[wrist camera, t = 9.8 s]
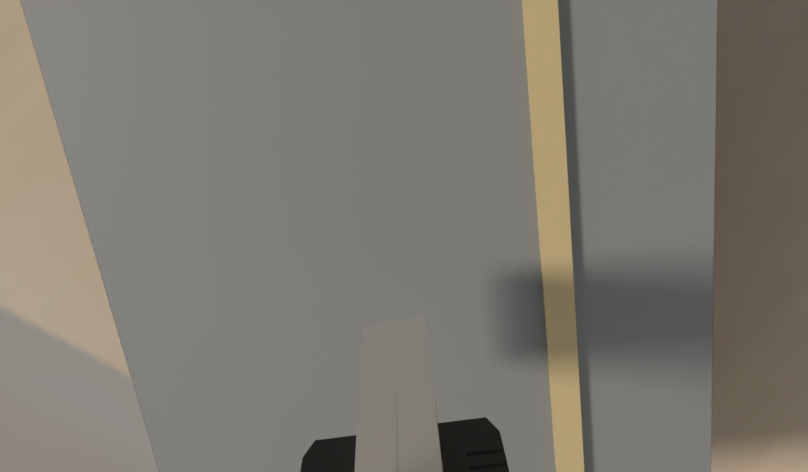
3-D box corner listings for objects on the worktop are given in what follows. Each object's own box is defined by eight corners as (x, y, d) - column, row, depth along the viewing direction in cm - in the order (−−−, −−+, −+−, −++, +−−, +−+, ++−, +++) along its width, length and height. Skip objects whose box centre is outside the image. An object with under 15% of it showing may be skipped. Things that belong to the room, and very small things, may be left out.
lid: (25, -72, 19) (-9, -74, 18) (702, -173, 18) (724, -184, 16) (219, 616, 27) (207, 653, 26) (697, 590, 25) (711, 628, 24)
